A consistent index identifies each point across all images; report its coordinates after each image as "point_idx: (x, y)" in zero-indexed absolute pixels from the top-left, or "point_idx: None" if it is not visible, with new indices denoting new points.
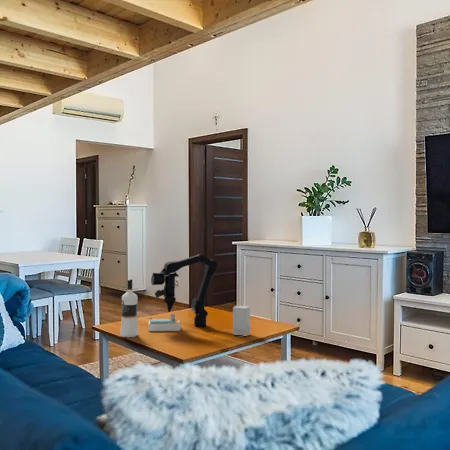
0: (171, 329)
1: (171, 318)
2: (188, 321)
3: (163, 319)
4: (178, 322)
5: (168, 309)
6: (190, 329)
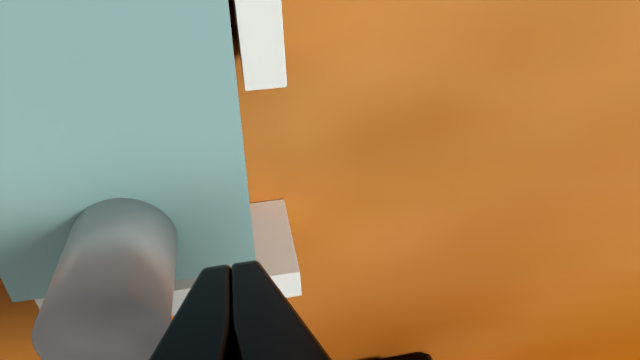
0: None
1: (64, 250)
2: (588, 281)
3: (144, 15)
4: None
5: (169, 350)
6: None
